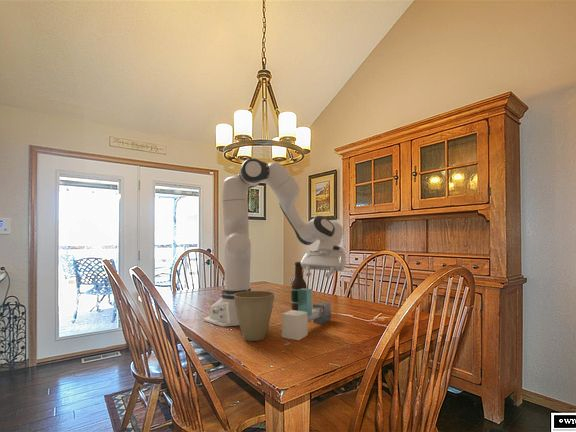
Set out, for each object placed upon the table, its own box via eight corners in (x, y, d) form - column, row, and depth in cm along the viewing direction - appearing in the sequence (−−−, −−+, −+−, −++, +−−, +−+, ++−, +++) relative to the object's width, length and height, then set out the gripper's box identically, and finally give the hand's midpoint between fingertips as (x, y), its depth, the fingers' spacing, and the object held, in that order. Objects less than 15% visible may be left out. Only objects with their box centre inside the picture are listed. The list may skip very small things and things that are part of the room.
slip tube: (287, 327, 118) (287, 292, 118) (314, 314, 136) (313, 284, 137) (296, 328, 116) (296, 293, 116) (322, 315, 134) (322, 285, 135)
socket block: (281, 337, 117) (281, 313, 117) (291, 332, 123) (291, 309, 123) (298, 340, 113) (298, 316, 114) (307, 335, 119) (307, 312, 120)
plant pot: (281, 340, 113) (280, 295, 114) (241, 347, 107) (241, 299, 108) (265, 329, 127) (265, 289, 128) (228, 335, 120) (228, 292, 121)
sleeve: (313, 322, 136) (313, 304, 137) (320, 318, 142) (320, 301, 143) (324, 324, 134) (323, 305, 134) (330, 320, 140) (330, 302, 140)
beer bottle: (307, 309, 161) (306, 261, 162) (306, 313, 153) (305, 262, 154) (292, 309, 161) (291, 261, 163) (290, 312, 154) (289, 262, 155)
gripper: (304, 246, 149) (293, 270, 140) (345, 247, 138) (337, 273, 129) (308, 255, 152) (299, 279, 144) (349, 257, 142) (341, 282, 133)
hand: (317, 276), depth 136 cm, fingers open, 8 cm apart
